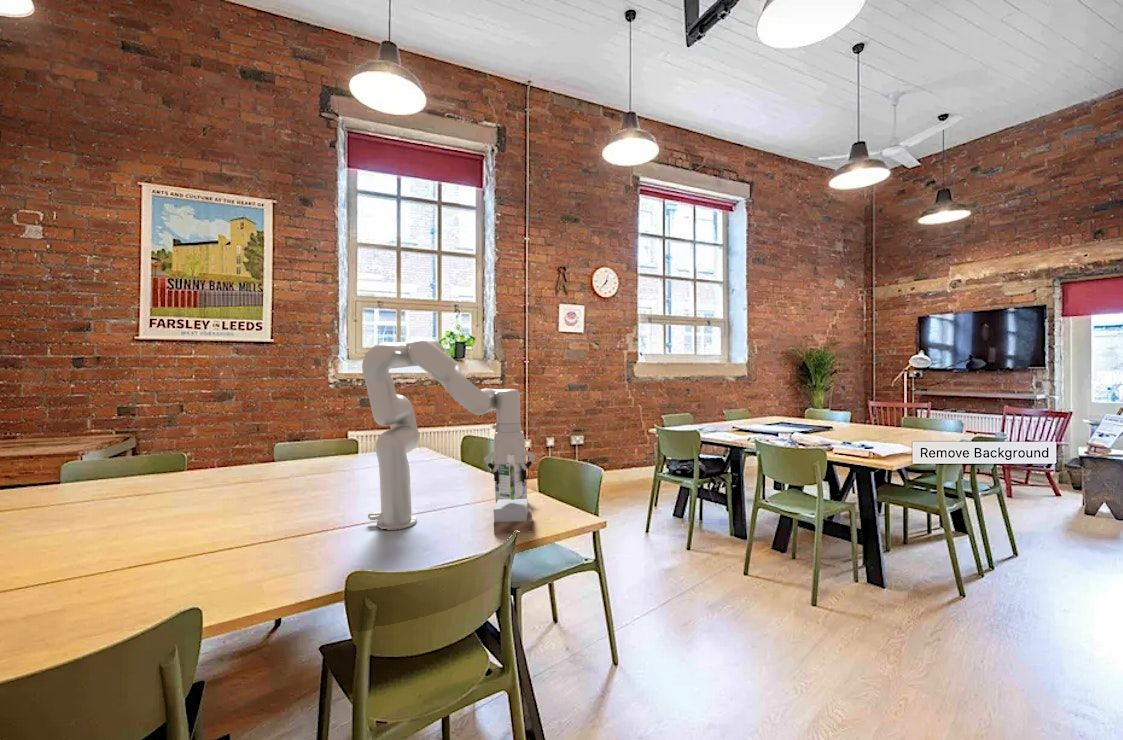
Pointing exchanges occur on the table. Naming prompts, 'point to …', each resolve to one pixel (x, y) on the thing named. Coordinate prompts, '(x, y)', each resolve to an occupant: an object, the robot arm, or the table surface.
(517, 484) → the syrup box
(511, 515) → the grey slab
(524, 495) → the light bulb box
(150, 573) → the table surface
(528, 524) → the walnut slab
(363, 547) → the table surface
